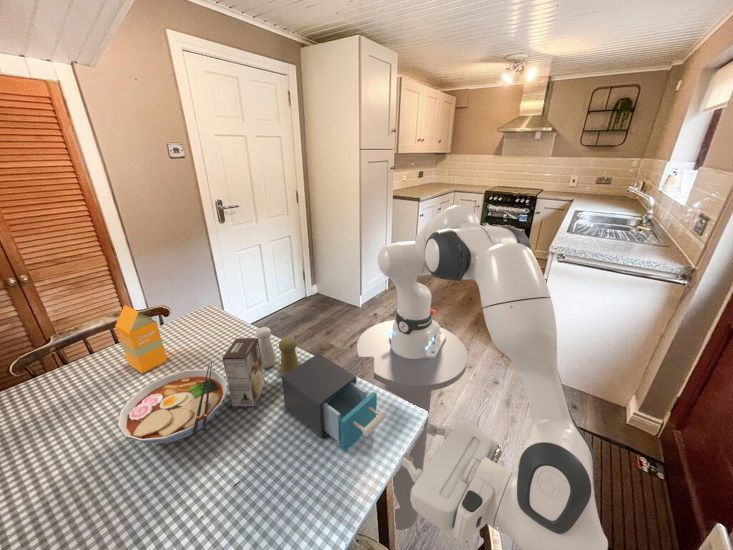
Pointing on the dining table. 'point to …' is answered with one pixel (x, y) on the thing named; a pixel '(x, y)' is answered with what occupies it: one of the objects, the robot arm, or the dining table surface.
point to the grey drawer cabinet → (313, 389)
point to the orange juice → (140, 340)
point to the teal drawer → (351, 415)
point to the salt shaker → (266, 347)
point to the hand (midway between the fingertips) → (416, 441)
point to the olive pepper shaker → (288, 355)
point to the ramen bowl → (173, 406)
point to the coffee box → (244, 371)
